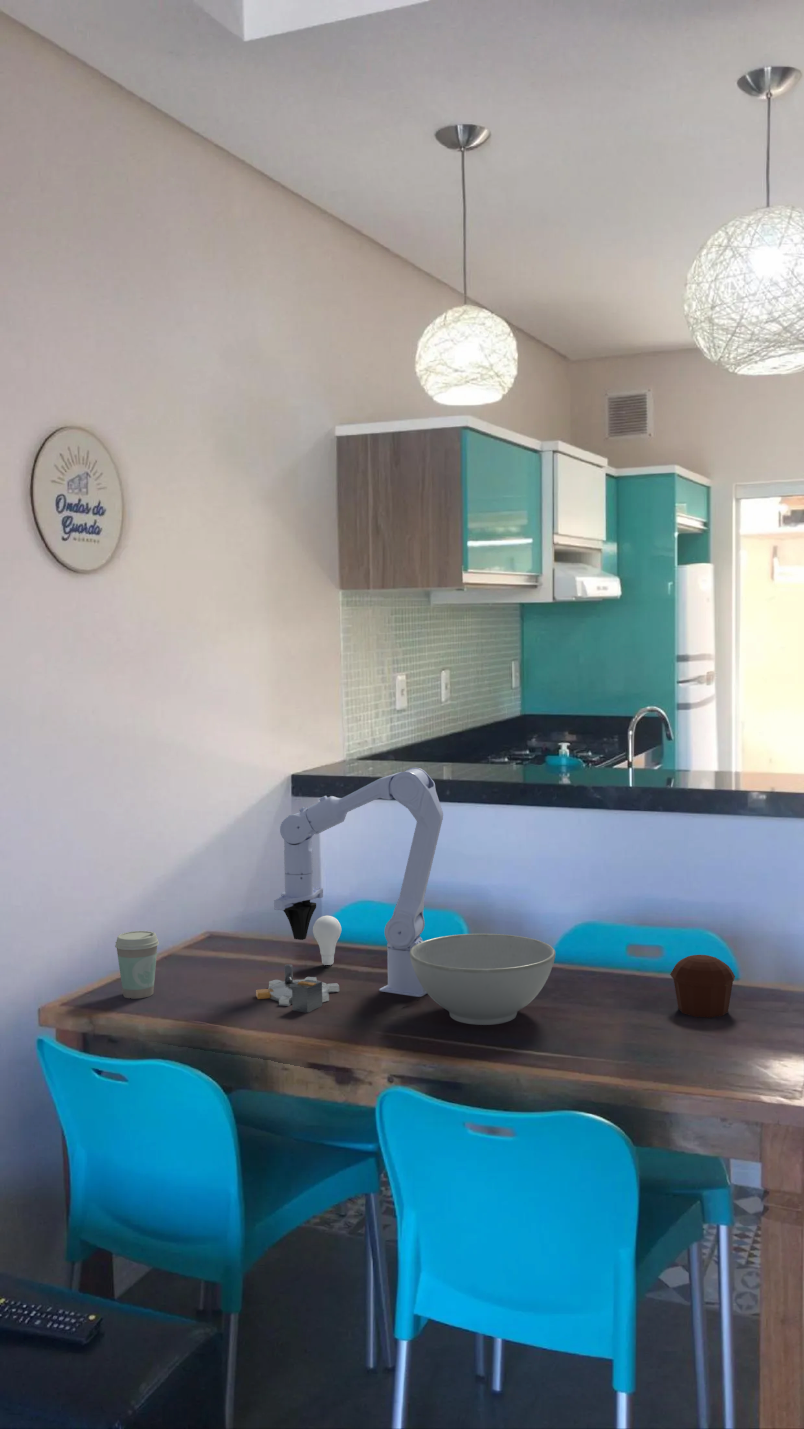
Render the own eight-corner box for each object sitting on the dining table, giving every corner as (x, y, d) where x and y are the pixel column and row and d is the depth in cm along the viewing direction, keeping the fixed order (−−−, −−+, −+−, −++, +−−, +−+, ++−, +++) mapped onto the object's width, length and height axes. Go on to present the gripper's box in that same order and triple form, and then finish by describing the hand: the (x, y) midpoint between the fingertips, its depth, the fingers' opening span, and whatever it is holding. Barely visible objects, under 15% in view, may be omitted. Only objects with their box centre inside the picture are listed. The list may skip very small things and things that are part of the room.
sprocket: (354, 988, 237) (353, 965, 237) (308, 1010, 223) (308, 985, 223) (288, 979, 245) (288, 956, 245) (241, 999, 231) (240, 975, 231)
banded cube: (322, 1007, 226) (321, 980, 226) (307, 1014, 222) (306, 987, 221) (307, 1005, 228) (307, 978, 227) (292, 1012, 223) (291, 985, 223)
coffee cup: (128, 1003, 231) (126, 942, 230) (109, 994, 237) (107, 935, 237) (168, 995, 236) (166, 935, 235) (147, 986, 243) (146, 928, 242)
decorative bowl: (515, 988, 237) (514, 928, 236) (583, 1026, 212) (582, 959, 211) (389, 1004, 227) (388, 942, 227) (444, 1046, 202) (443, 976, 202)
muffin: (744, 1007, 221) (743, 954, 221) (723, 1023, 212) (723, 968, 212) (683, 998, 228) (682, 946, 228) (660, 1013, 219) (660, 959, 218)
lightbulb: (338, 970, 252) (337, 919, 252) (310, 969, 253) (309, 918, 253) (344, 963, 258) (343, 913, 258) (317, 962, 259) (316, 912, 259)
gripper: (302, 865, 249) (304, 929, 250) (261, 877, 236) (262, 944, 237) (331, 867, 245) (332, 933, 246) (290, 879, 233) (291, 948, 233)
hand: (300, 938), depth 241 cm, fingers closed
